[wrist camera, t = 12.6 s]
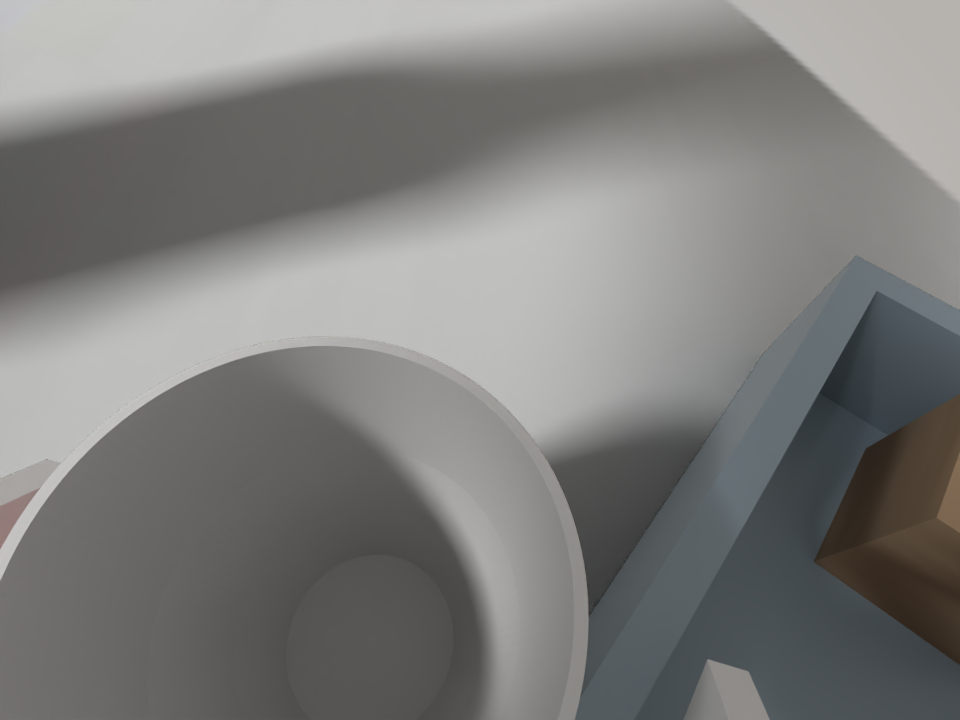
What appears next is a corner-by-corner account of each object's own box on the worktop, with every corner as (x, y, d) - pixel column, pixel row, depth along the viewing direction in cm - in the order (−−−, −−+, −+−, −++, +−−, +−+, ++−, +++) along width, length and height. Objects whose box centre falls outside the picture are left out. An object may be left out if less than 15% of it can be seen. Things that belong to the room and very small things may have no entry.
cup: (367, 457, 19) (306, 263, 10) (563, 614, 17) (690, 531, 8) (165, 671, 15) (-182, 643, 7) (381, 907, 13) (268, 1311, 5)
